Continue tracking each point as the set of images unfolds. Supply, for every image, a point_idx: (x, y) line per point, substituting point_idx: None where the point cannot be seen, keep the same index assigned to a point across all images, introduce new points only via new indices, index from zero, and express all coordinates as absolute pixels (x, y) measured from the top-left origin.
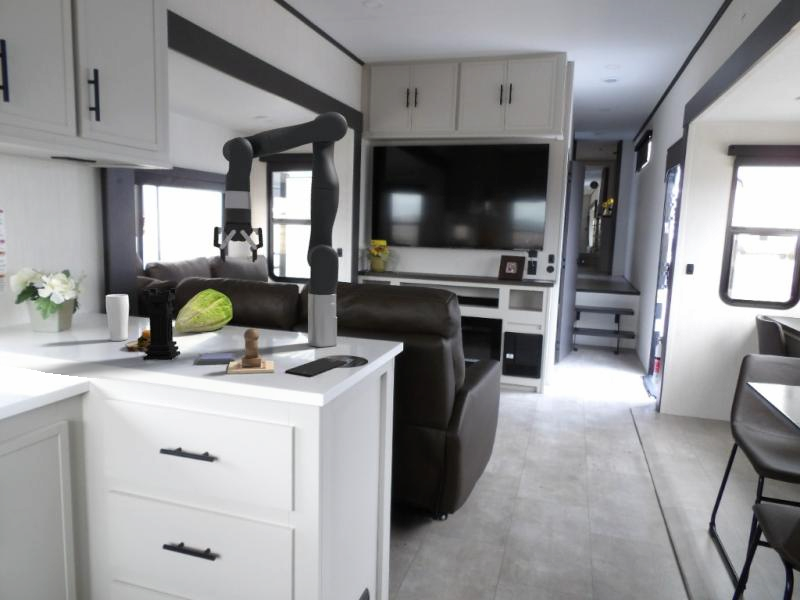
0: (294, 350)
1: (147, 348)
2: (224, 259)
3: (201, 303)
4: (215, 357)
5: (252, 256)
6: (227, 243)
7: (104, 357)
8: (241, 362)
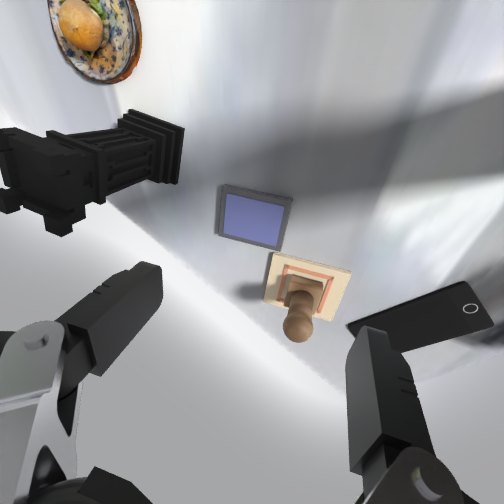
0: (455, 175)
1: (110, 81)
2: (150, 313)
3: None
4: (248, 230)
5: (348, 401)
6: (70, 442)
7: (62, 120)
8: (290, 269)
